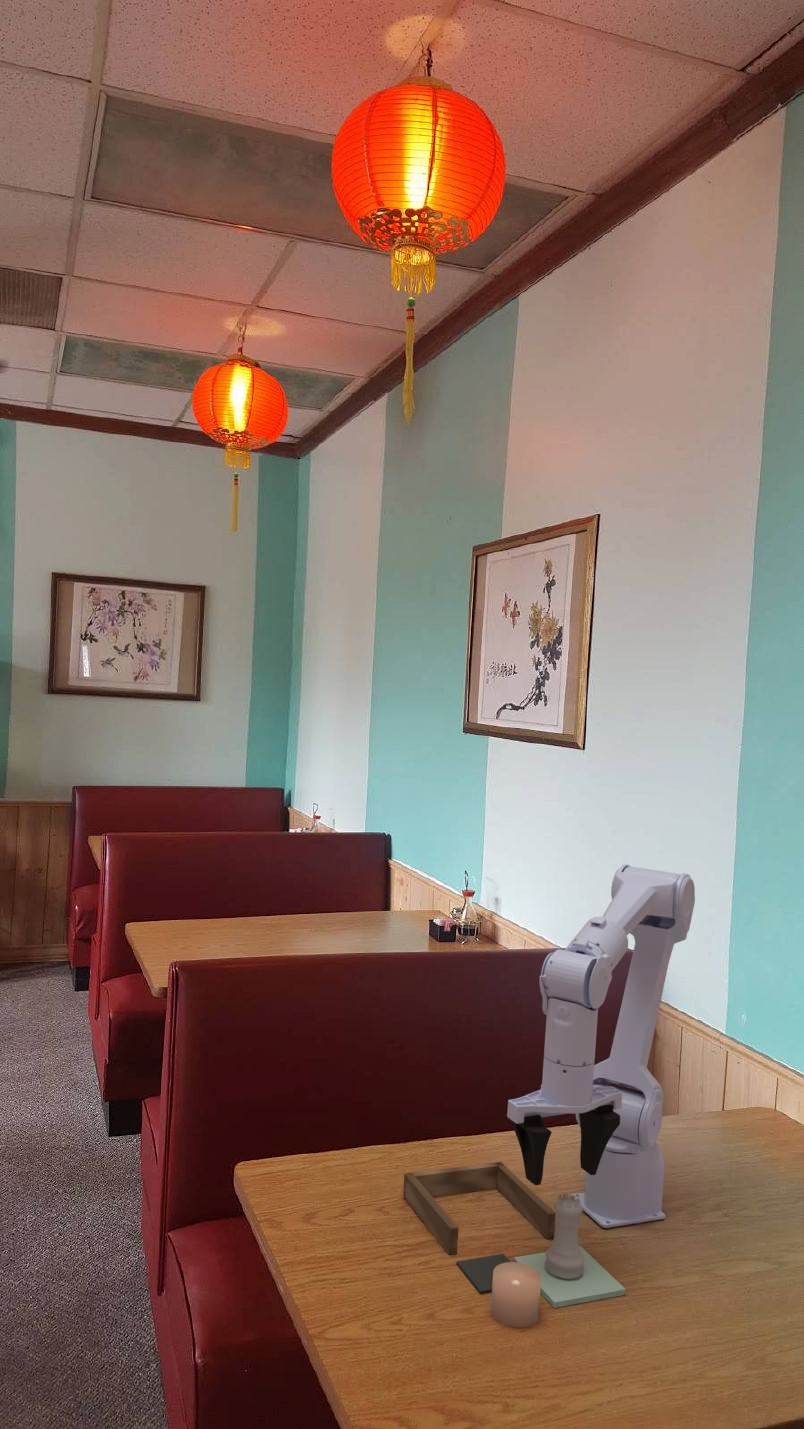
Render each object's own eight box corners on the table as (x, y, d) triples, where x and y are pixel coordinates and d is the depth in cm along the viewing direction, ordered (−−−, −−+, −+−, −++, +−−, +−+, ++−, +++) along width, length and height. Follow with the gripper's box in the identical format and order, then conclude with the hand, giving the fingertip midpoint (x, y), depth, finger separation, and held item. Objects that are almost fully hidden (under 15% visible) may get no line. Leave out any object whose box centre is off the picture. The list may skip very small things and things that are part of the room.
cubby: (499, 1184, 134) (501, 1161, 134) (554, 1237, 121) (555, 1213, 121) (402, 1196, 128) (404, 1173, 128) (449, 1254, 115) (450, 1228, 115)
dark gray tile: (503, 1256, 116) (503, 1253, 116) (529, 1285, 110) (529, 1282, 110) (456, 1263, 114) (456, 1261, 114) (480, 1293, 108) (480, 1291, 108)
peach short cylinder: (523, 1295, 108) (526, 1259, 108) (547, 1323, 104) (550, 1284, 104) (482, 1303, 106) (485, 1266, 106) (504, 1331, 102) (507, 1292, 102)
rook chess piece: (587, 1282, 110) (592, 1210, 110) (546, 1279, 110) (551, 1207, 110) (580, 1260, 115) (585, 1191, 115) (541, 1257, 115) (546, 1188, 115)
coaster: (580, 1251, 118) (580, 1246, 118) (625, 1294, 110) (625, 1289, 110) (513, 1262, 115) (513, 1257, 115) (554, 1308, 106) (554, 1302, 106)
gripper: (599, 1040, 121) (591, 1152, 121) (496, 1051, 115) (488, 1169, 115) (636, 1060, 115) (628, 1178, 115) (530, 1073, 108) (522, 1198, 109)
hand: (561, 1176), depth 114 cm, fingers open, 7 cm apart
